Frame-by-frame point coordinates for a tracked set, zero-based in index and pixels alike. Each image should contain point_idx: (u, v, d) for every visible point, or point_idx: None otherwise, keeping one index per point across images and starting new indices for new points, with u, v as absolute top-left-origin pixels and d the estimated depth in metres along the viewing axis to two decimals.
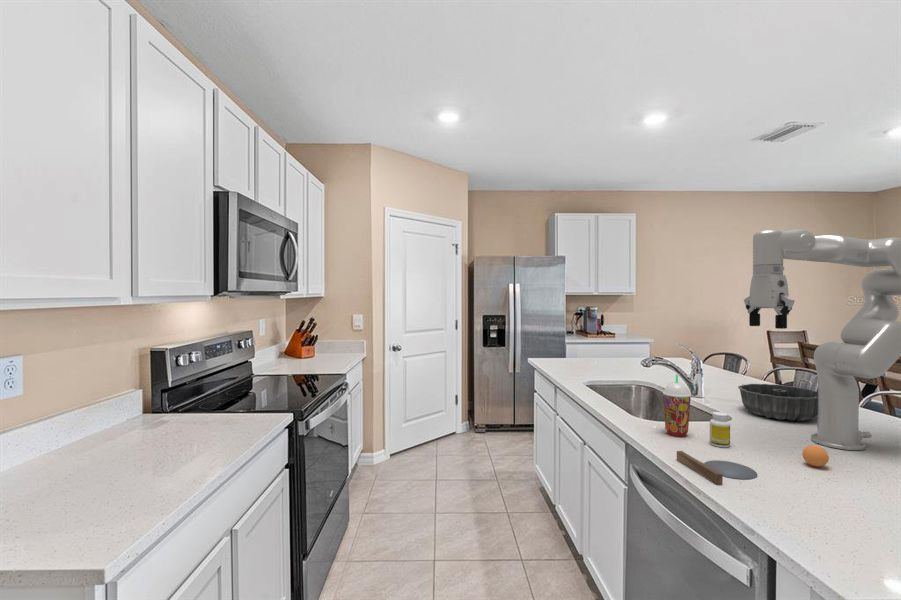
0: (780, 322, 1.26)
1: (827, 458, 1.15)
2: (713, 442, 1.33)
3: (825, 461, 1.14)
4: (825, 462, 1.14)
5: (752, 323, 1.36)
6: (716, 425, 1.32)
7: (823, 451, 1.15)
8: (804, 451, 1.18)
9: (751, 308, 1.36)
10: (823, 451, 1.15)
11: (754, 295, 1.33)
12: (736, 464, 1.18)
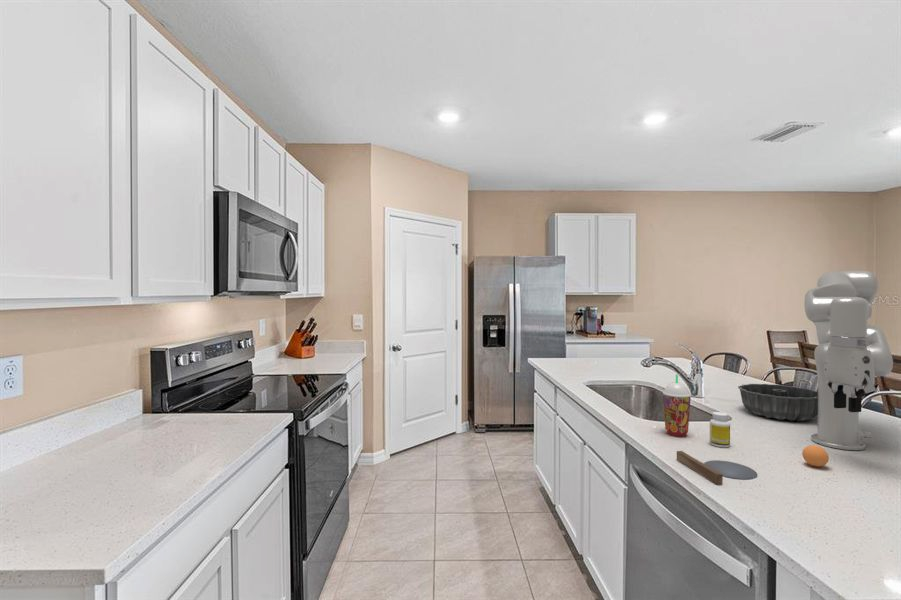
0: (854, 405, 1.15)
1: (827, 458, 1.15)
2: (713, 442, 1.33)
3: (825, 461, 1.14)
4: (825, 462, 1.14)
5: (837, 405, 1.19)
6: (716, 425, 1.32)
7: (823, 451, 1.15)
8: (804, 451, 1.18)
9: (834, 386, 1.20)
10: (823, 451, 1.15)
11: (831, 368, 1.20)
12: (736, 464, 1.18)
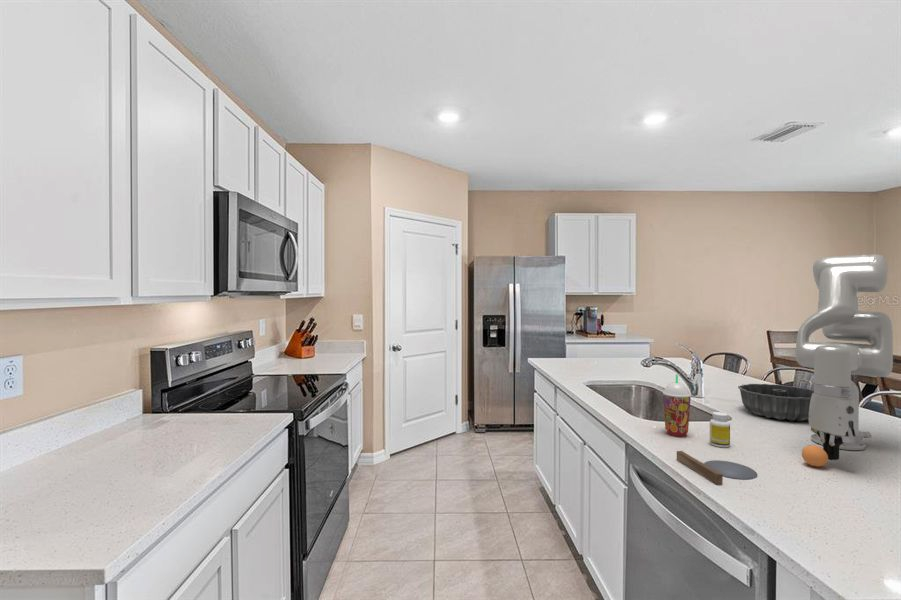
0: (832, 453, 1.16)
1: (826, 458, 1.15)
2: (713, 442, 1.33)
3: (824, 461, 1.14)
4: (824, 462, 1.14)
5: None
6: (716, 425, 1.32)
7: (822, 451, 1.15)
8: (803, 451, 1.18)
9: (822, 435, 1.18)
10: (822, 451, 1.15)
11: (815, 415, 1.19)
12: (736, 464, 1.18)
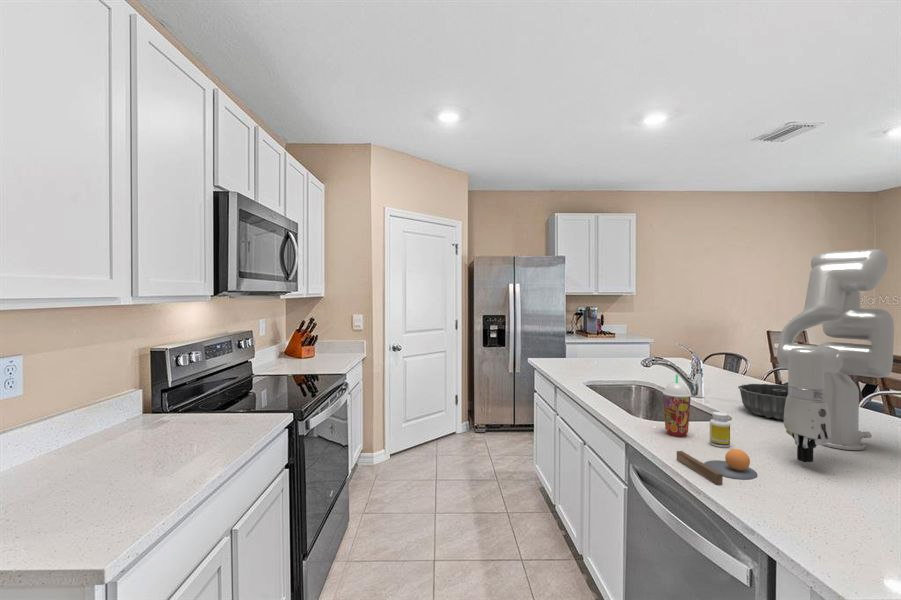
0: (806, 456, 1.15)
1: (743, 460, 1.12)
2: (713, 442, 1.33)
3: (746, 462, 1.12)
4: (747, 461, 1.12)
5: None
6: (716, 425, 1.32)
7: (736, 463, 1.12)
8: None
9: (796, 437, 1.18)
10: (736, 464, 1.12)
11: (789, 418, 1.19)
12: None
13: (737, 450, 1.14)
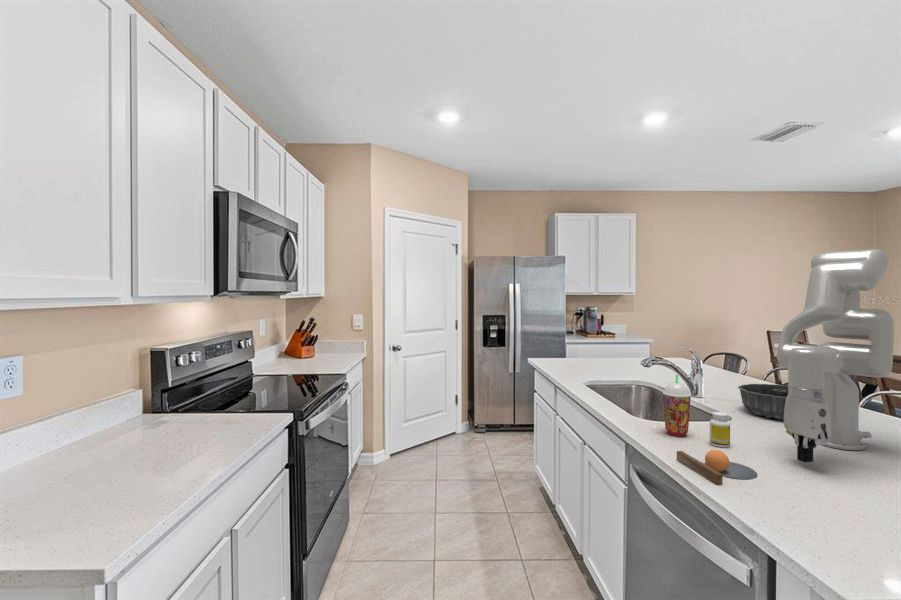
0: (806, 456, 1.15)
1: (722, 467, 1.11)
2: (713, 442, 1.33)
3: (722, 464, 1.11)
4: (721, 463, 1.11)
5: None
6: (716, 425, 1.32)
7: None
8: None
9: (796, 437, 1.18)
10: (726, 468, 1.12)
11: (789, 418, 1.19)
12: (736, 464, 1.18)
13: None
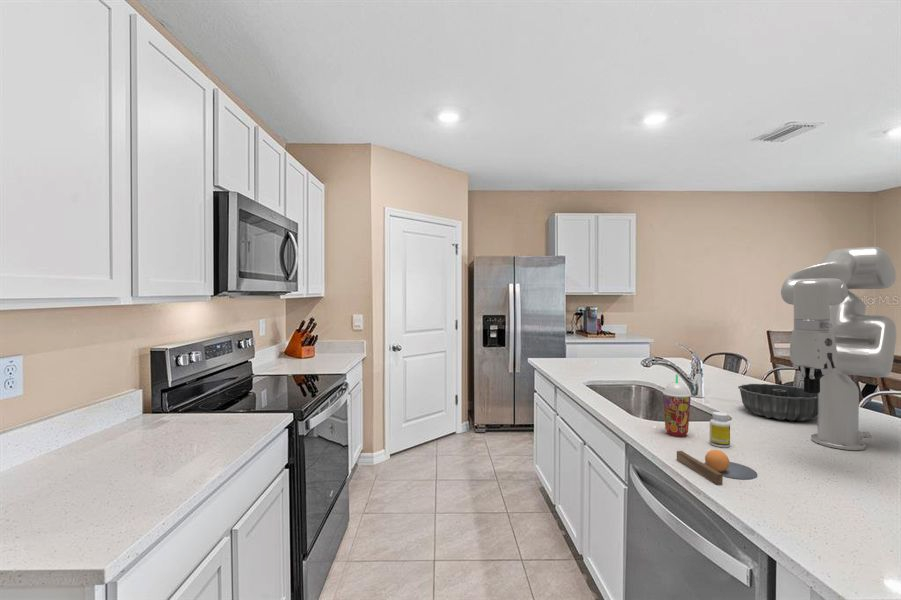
0: (813, 387, 1.16)
1: (722, 467, 1.11)
2: (713, 442, 1.33)
3: (722, 464, 1.11)
4: (721, 463, 1.11)
5: None
6: (716, 425, 1.32)
7: None
8: None
9: (802, 370, 1.18)
10: (726, 468, 1.12)
11: (795, 351, 1.19)
12: (736, 464, 1.18)
13: None
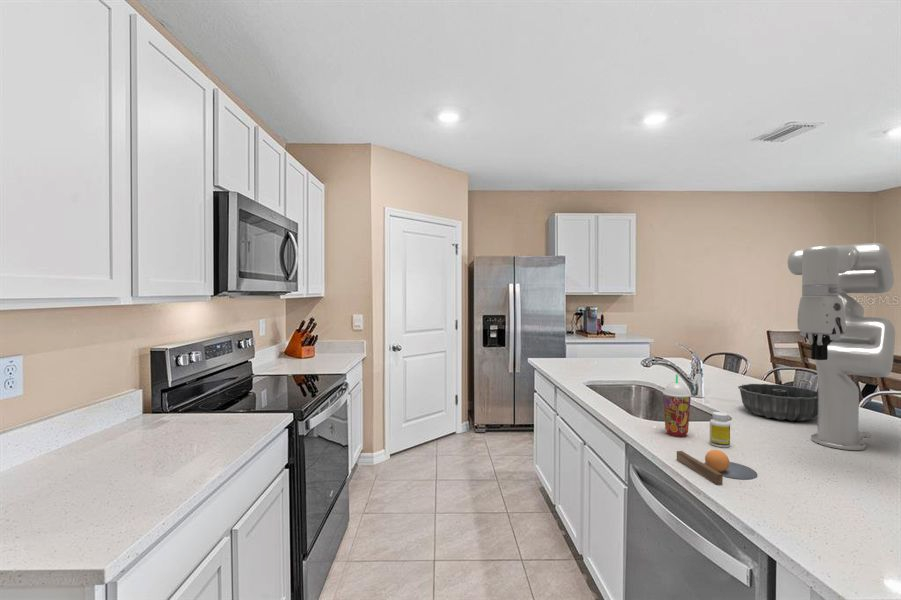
0: (820, 353, 1.15)
1: (722, 467, 1.11)
2: (713, 442, 1.33)
3: (722, 464, 1.11)
4: (721, 463, 1.11)
5: None
6: (716, 425, 1.32)
7: None
8: None
9: (810, 337, 1.18)
10: (726, 468, 1.12)
11: (803, 318, 1.19)
12: (736, 464, 1.18)
13: None
